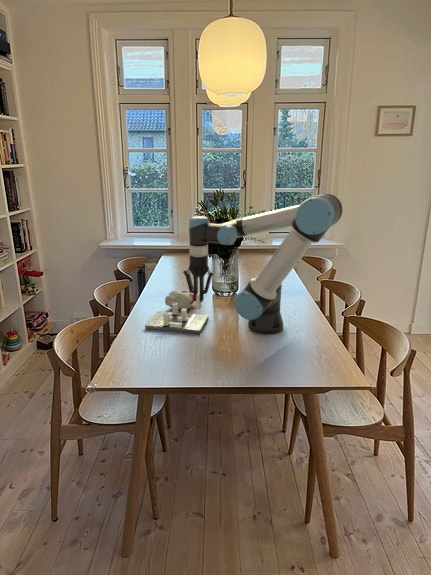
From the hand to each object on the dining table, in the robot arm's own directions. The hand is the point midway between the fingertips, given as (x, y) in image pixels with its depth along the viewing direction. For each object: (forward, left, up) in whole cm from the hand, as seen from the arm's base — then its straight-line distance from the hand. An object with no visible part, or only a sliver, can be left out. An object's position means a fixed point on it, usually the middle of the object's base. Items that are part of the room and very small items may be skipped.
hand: (198, 308), depth 171 cm
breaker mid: (+7, 0, -6) cm, 9 cm away
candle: (+13, -19, -9) cm, 24 cm away
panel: (+10, 0, -9) cm, 13 cm away
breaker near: (+13, +6, -6) cm, 15 cm away
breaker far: (+13, -6, -6) cm, 15 cm away
